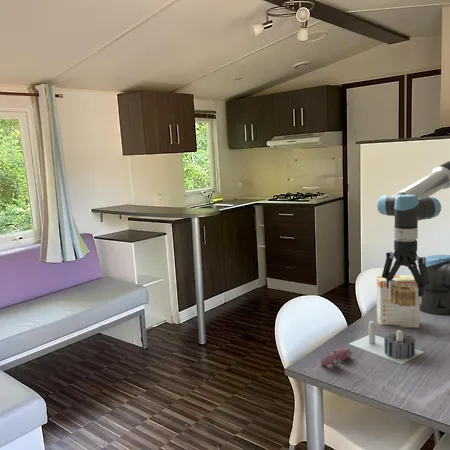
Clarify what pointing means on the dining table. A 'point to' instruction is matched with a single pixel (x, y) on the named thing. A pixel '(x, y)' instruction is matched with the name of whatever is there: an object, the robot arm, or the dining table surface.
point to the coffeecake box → (396, 313)
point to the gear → (399, 346)
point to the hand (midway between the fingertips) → (404, 301)
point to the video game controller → (336, 356)
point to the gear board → (380, 344)
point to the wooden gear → (403, 295)
